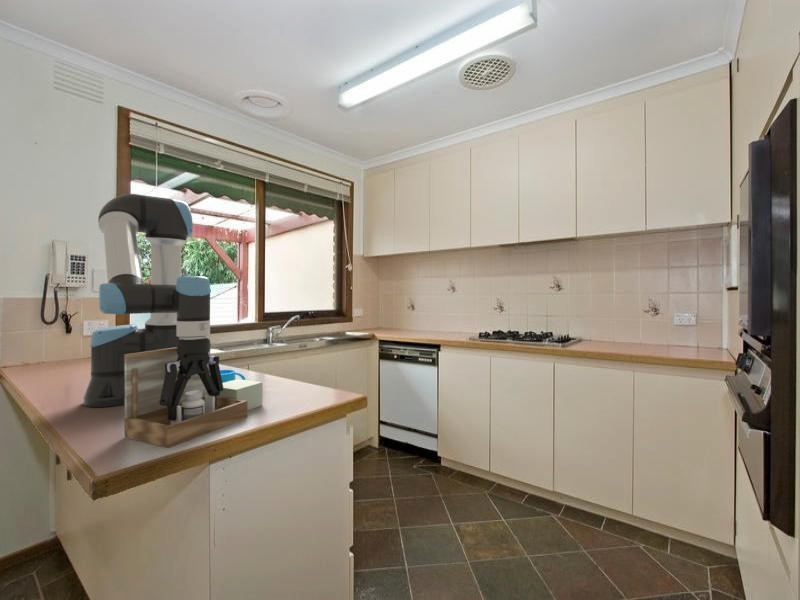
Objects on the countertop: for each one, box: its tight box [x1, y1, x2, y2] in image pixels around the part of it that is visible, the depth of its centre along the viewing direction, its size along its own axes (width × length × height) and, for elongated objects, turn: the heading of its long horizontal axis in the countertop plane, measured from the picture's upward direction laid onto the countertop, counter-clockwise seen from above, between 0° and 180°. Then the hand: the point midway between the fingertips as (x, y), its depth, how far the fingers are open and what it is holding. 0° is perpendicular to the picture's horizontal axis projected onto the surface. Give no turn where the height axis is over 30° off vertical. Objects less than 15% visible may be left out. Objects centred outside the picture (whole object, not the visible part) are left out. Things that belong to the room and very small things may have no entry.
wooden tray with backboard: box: [124, 342, 249, 449], centre depth 98 cm, size 15×23×20 cm, turn 157°
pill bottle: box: [181, 391, 205, 421], centre depth 98 cm, size 5×5×9 cm
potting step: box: [219, 378, 263, 411], centre depth 115 cm, size 10×10×7 cm
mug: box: [210, 369, 246, 383], centre depth 128 cm, size 12×8×8 cm
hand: (193, 426), depth 98 cm, fingers open, 9 cm apart
